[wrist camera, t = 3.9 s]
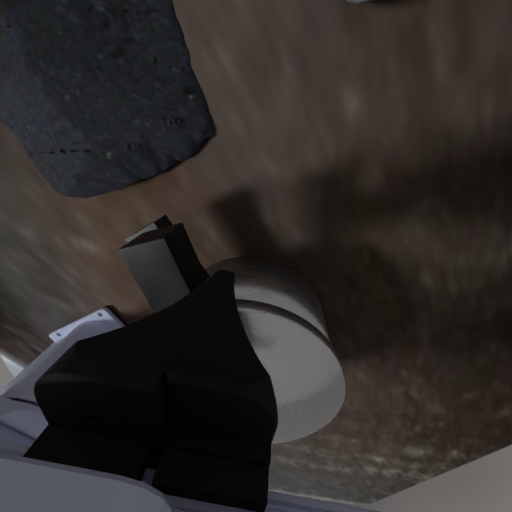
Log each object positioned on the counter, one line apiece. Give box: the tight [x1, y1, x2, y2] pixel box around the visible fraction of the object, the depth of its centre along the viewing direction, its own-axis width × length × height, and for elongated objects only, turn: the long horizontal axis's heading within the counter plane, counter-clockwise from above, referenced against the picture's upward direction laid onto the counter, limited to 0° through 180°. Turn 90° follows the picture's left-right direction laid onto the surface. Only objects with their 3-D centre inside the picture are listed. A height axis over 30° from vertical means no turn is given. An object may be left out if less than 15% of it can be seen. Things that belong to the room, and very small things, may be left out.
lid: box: [118, 223, 346, 444], centre depth 15 cm, size 20×15×3 cm
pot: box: [125, 215, 330, 341], centre depth 19 cm, size 20×14×6 cm
